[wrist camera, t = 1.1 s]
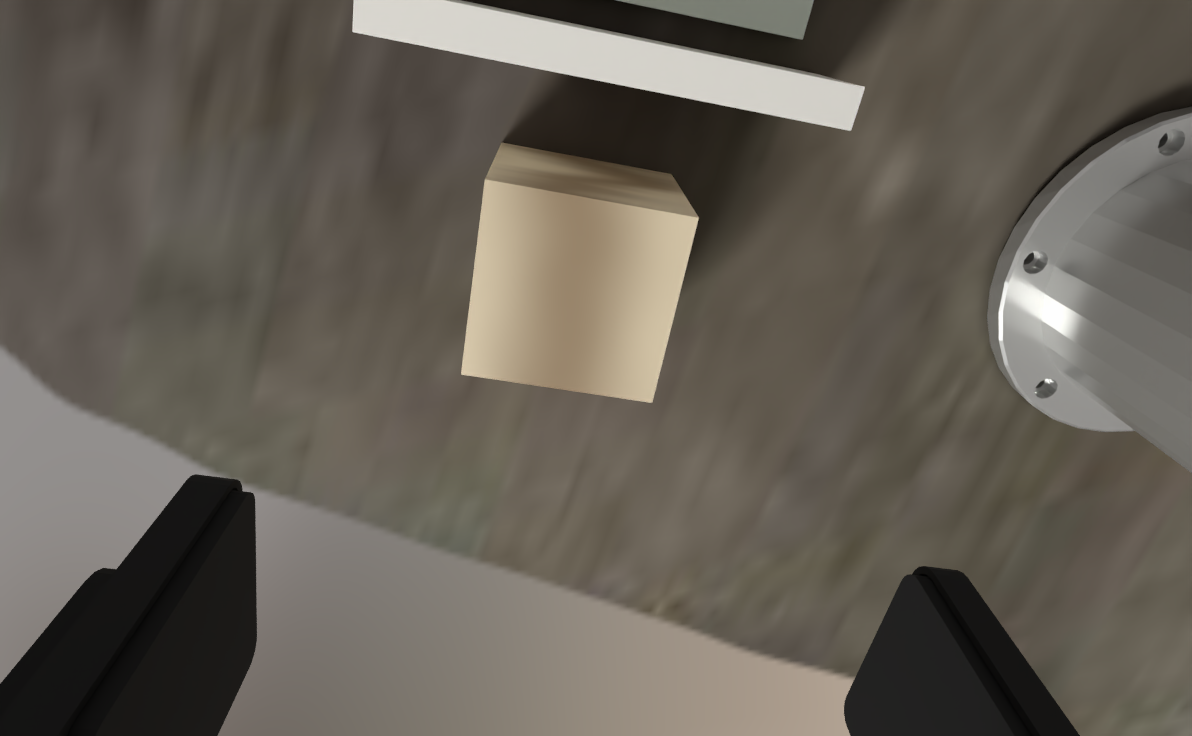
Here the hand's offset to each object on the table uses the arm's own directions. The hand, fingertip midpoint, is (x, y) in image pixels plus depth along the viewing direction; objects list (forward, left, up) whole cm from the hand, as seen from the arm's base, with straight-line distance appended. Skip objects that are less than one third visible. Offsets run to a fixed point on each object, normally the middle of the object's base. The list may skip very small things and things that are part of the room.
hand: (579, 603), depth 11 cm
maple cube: (0, 0, -18) cm, 18 cm away
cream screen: (0, -7, -18) cm, 19 cm away
